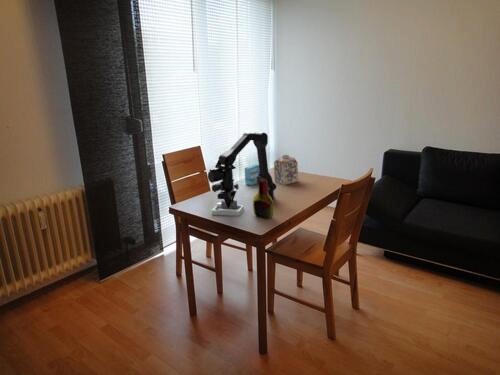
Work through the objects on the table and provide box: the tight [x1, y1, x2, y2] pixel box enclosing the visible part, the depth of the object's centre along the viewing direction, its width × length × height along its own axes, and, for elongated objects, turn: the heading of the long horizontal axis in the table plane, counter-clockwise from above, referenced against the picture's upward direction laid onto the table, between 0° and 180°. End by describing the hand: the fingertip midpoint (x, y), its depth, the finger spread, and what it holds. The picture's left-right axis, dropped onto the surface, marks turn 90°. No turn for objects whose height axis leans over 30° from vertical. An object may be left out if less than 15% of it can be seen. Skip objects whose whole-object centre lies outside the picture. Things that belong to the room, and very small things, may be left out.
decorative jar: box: [273, 154, 299, 186], centre depth 237 cm, size 12×12×18 cm
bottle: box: [252, 179, 275, 219], centre depth 180 cm, size 12×6×20 cm, turn 50°
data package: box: [244, 163, 260, 186], centre depth 239 cm, size 12×4×12 cm, turn 134°
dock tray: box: [211, 204, 245, 217], centre depth 192 cm, size 15×9×2 cm, turn 76°
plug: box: [216, 199, 238, 210], centre depth 191 cm, size 11×4×4 cm, turn 76°
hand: (229, 206), depth 191 cm, fingers closed on plug, 3 cm apart
